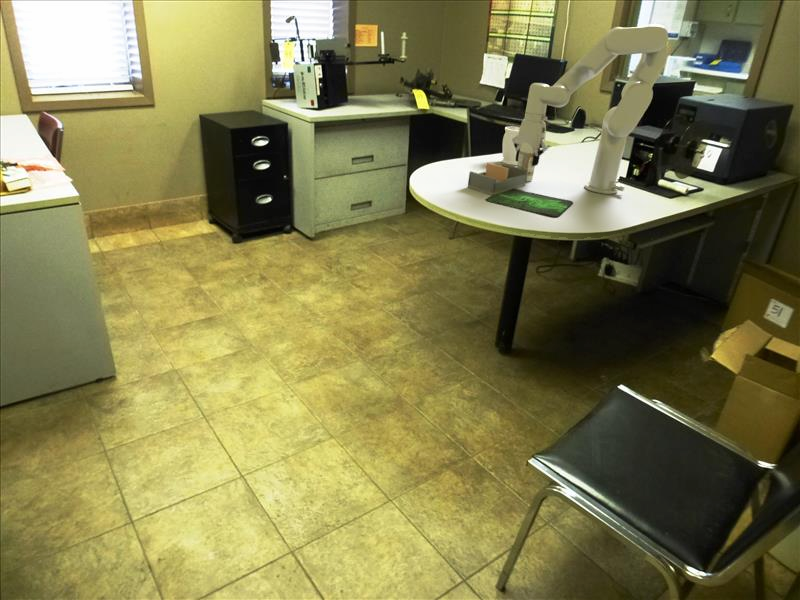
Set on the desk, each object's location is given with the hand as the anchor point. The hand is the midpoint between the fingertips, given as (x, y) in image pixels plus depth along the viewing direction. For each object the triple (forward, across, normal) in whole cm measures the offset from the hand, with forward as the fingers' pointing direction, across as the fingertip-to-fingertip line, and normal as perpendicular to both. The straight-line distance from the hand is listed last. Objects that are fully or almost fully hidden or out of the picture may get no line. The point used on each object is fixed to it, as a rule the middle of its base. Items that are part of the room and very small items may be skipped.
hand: (526, 162), depth 228 cm
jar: (+7, +18, -18) cm, 26 cm away
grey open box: (+7, 0, +18) cm, 19 cm away
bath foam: (+7, 0, 0) cm, 7 cm away
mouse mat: (+7, -18, +23) cm, 30 cm away
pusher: (+6, +1, +22) cm, 22 cm away
